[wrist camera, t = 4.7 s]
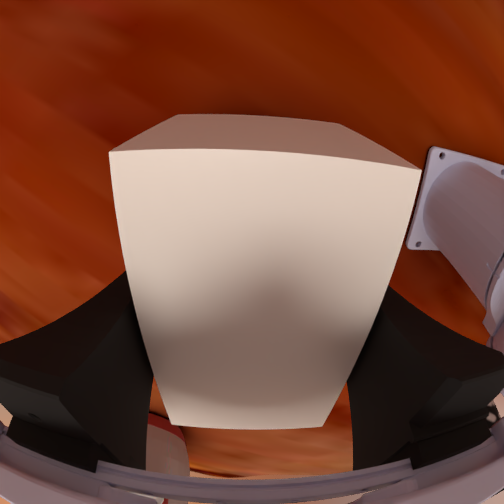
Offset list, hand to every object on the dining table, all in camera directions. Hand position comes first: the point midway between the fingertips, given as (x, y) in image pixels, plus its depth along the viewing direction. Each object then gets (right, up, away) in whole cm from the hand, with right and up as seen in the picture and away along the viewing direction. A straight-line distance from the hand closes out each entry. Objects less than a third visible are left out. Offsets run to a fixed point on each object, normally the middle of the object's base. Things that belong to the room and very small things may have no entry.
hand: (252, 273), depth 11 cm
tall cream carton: (0, +1, +2) cm, 2 cm away
